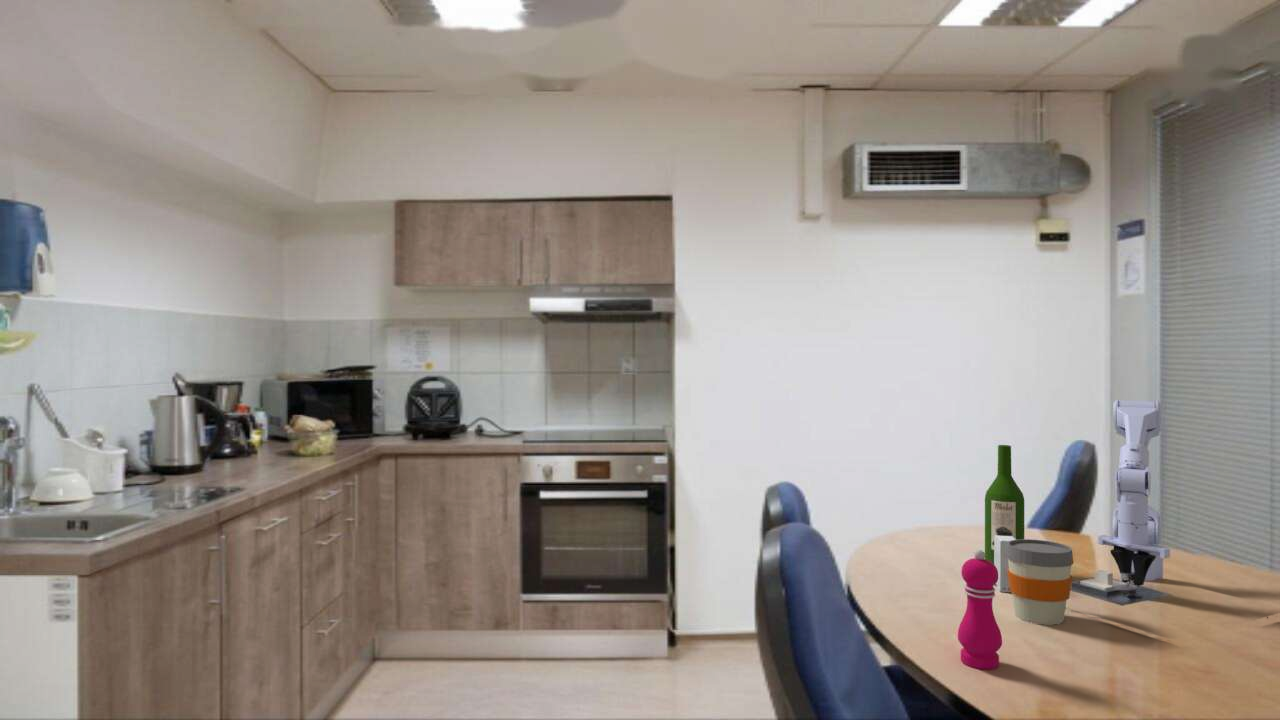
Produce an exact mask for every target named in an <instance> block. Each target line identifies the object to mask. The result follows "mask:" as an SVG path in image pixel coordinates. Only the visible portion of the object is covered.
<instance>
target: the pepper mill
mask: <svg viewBox="0 0 1280 720" xmlns="http://www.w3.org/2000/svg"><path fill="white" fill-rule="evenodd" d="M973 554H974V558H970V559H967V560H966V561H965V562H964V563H963V564H962V566H961V572H960V573H961V577H962V579H963V580H964V582H965V584H964V594H965V595H966V597H967V601H966V602H967V603H966V609H965V613H964V616H963V617H962V620H961V622H960V624H959V627H958V631H957V640H958V642H959V643H960V644H961V646H962V648H961V649H960V661H961V662H962V664H963V665H966V666H967V667H971V668H974V669H977V670H978V669H979V670H995V669H998V668H999V666H1000V654H998V653H997V652H998V651H999V650H1000V649H1001V647H1002V645H1003V636H1002V633H1001V629H1000V627H999V625H998V623H997V620H996V618H995V615H994V614H995V613H994V609H993V599H994V598H995V597H996V592H995V591H996V587H995V584H997V581H998V570H997V568H996V566H995V565H994V564H993V563H992V562H990V561H988V560H986V559H985V551H983V550H981V549H977V550H975V551H974V553H973Z"/></svg>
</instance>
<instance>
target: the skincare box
mask: <svg viewBox="0 0 1280 720" xmlns="http://www.w3.org/2000/svg"><path fill="white" fill-rule="evenodd" d="M1011 540H1016V539H1015V538H1014V537H1012V536H998V535H995V536H994V565H995V566H996V568H997V570H998V581H997V583H996V584H995V585H994V587H995V588H996V589H998V591H999V592H1000V593H1011V592H1010V587H1009V580H1008V572H1007V569H1008V568H1009V564H1008V558H1007V557H1006V550H1007V542H1008V541H1011Z"/></svg>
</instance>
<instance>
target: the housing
mask: <svg viewBox="0 0 1280 720" xmlns="http://www.w3.org/2000/svg"><path fill="white" fill-rule="evenodd" d="M1089 579H1090V578H1087V579H1082V580H1076V581H1072V582H1071V589H1070V592H1074V593H1077V594H1081V595H1084V596H1087V597H1091V598H1094V599H1098V600H1100V601H1101V600H1102V601H1105V602H1108V603H1110V604H1114V605H1118V606H1126V605H1131V604H1137V603H1140V602H1146V601H1150V600H1157V599H1161V598H1166V597H1170V596H1173V594H1172V593H1168V592H1165V591H1161V590H1157V589H1153V588H1150V587H1145V586H1143V585H1140V586H1137V594H1130V593H1129V590H1115V589H1114V590H1108V591H1104V590H1101V589H1097V588H1094V587H1090V586H1087V585H1083V584H1080V581H1084V580H1089ZM1091 579H1095V577H1093V578H1091ZM1113 580H1115V581H1119V582H1122V580H1118V579H1115V578H1113ZM1123 583H1127V584H1128V585H1129V582H1123Z"/></svg>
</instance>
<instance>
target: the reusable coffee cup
mask: <svg viewBox="0 0 1280 720" xmlns="http://www.w3.org/2000/svg"><path fill="white" fill-rule="evenodd" d="M1006 557H1007V558H1008V564H1009V568H1008V569H1007V572H1008V580H1009V587H1010V592H1009V593H1011V594H1012V599H1013V607H1014V608H1013V609H1014V615H1015V617H1016V618H1017V617H1018V619H1019V618H1020V620H1021V619H1022V621H1023V620H1024V622H1026V621H1028V622H1027V623H1030V622H1032V623H1031V624H1034V623H1037V624H1036V625H1041V624H1047V625H1046V626H1054V625H1053V624H1058V625H1061V624H1060V623H1062V622H1065V621H1064V619H1065V612H1066V605H1067V601H1068V600H1069V599H1070V596H1071V591H1070V589H1071V582H1073V576H1072V575H1071V572H1072V566H1073V565H1074V563H1075V562H1074V554H1073V549H1072V547H1070V546H1068V545H1065V544H1063V543H1059V542H1054V541H1049V540H1043V539H1030V538H1029V539H1028V538H1024V539H1018V540H1011V541H1008V542H1007V550H1006ZM1062 624H1063V623H1062Z"/></svg>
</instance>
